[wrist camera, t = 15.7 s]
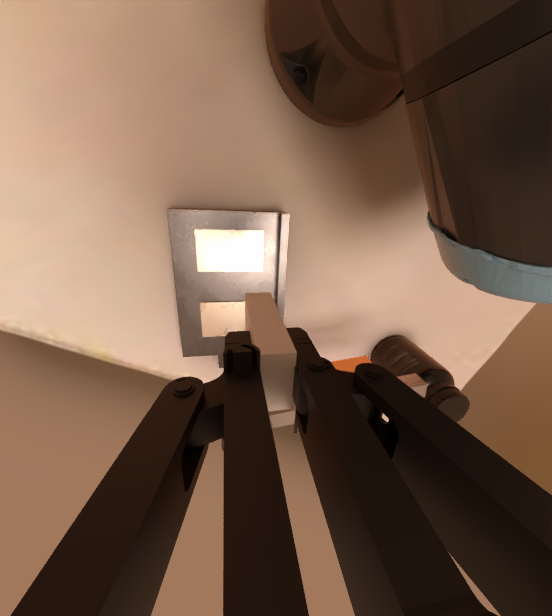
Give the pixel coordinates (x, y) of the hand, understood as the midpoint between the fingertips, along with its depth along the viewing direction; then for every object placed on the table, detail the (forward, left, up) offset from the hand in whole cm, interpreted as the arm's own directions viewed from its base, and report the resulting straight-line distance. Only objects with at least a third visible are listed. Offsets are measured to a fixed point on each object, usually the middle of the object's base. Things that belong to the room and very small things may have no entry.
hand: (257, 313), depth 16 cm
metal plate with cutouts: (+4, -1, -17) cm, 17 cm away
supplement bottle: (+15, +23, -17) cm, 32 cm away
